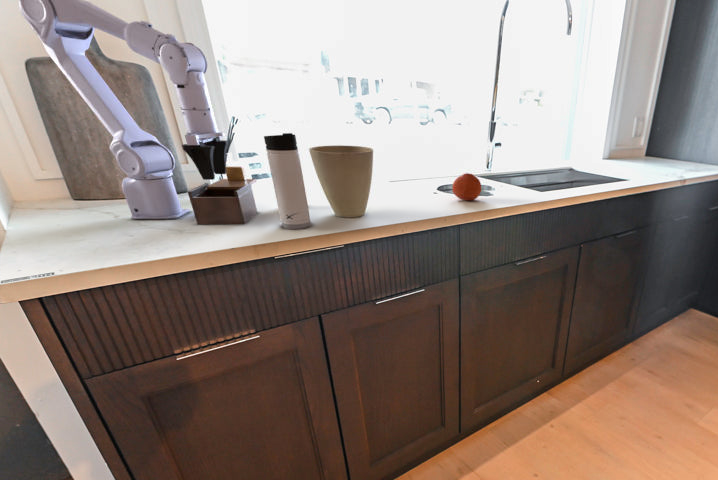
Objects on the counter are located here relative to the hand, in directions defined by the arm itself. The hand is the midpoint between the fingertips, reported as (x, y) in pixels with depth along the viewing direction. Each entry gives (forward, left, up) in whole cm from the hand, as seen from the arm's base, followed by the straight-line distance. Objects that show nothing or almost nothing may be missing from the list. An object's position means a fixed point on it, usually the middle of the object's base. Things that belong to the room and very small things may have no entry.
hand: (215, 176), depth 97 cm
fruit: (+62, +22, -10) cm, 66 cm away
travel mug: (+17, -7, -10) cm, 21 cm away
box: (0, +2, -10) cm, 10 cm away
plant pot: (+28, +4, -10) cm, 30 cm away
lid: (0, +10, -4) cm, 11 cm away
